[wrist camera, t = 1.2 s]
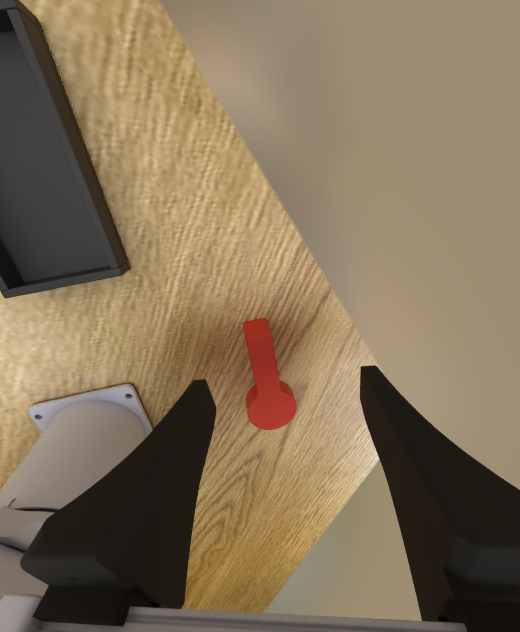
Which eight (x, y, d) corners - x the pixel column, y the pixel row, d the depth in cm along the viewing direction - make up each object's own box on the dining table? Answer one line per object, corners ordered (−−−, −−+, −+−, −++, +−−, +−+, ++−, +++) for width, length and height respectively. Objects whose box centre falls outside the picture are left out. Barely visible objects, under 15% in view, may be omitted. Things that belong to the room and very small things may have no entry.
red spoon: (227, 325, 21) (228, 342, 19) (279, 314, 21) (288, 329, 19) (250, 421, 25) (254, 446, 23) (294, 410, 26) (302, 434, 23)
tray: (131, 268, 18) (122, 275, 17) (24, 289, 18) (4, 298, 16) (37, 18, 13) (10, -9, 12) (-115, 38, 13) (-166, 14, 11)
